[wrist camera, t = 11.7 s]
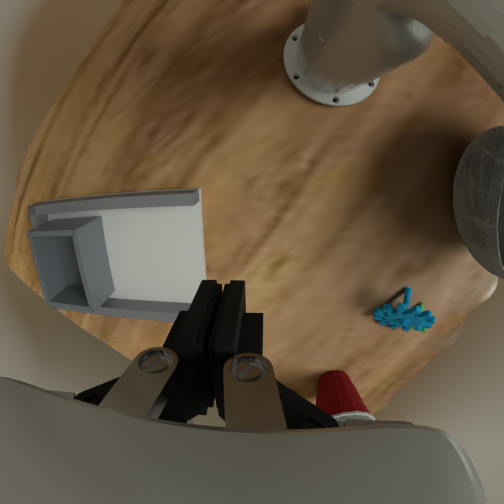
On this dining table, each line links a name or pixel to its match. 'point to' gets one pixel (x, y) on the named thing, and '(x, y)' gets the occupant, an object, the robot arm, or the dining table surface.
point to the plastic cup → (340, 397)
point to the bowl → (482, 199)
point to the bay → (143, 247)
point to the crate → (72, 262)
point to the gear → (405, 315)
